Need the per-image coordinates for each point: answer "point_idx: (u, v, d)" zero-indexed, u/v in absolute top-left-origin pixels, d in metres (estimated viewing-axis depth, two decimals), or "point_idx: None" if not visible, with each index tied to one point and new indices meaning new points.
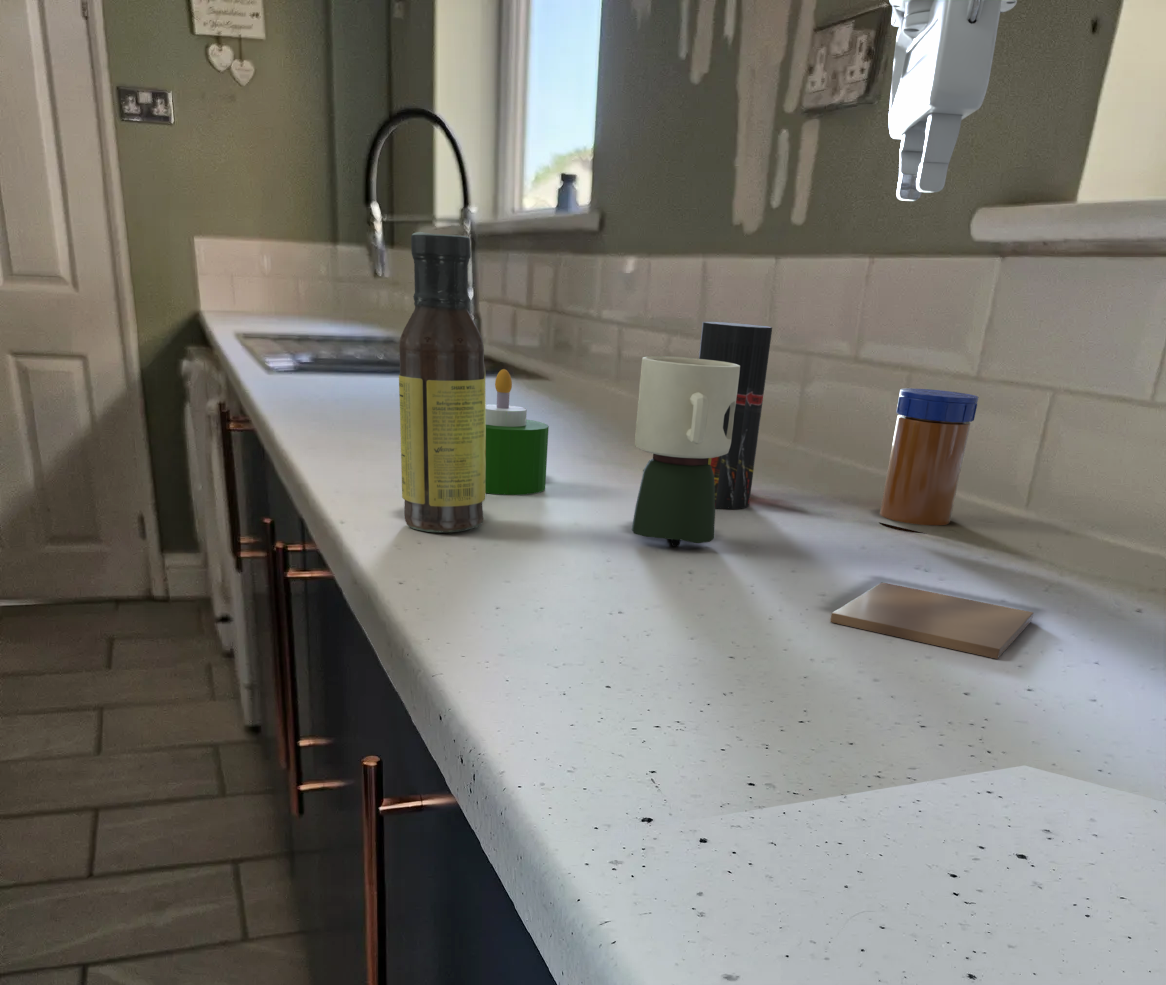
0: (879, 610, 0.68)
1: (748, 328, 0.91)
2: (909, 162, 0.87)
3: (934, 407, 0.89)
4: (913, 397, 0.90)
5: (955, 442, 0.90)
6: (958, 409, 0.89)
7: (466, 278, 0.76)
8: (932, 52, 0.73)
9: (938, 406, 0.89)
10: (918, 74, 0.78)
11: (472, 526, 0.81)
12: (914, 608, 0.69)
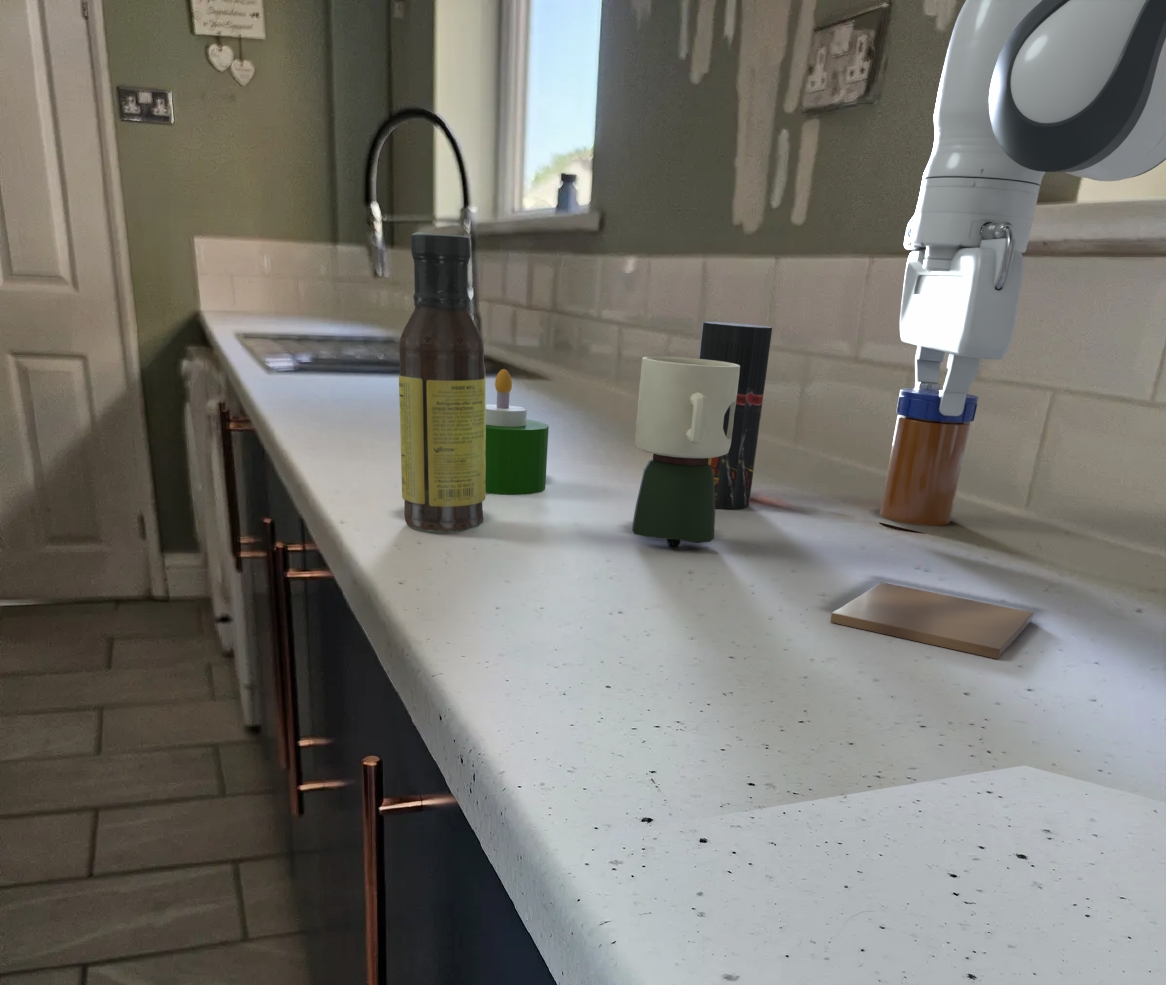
0: (879, 610, 0.68)
1: (748, 328, 0.91)
2: (925, 370, 0.95)
3: (934, 407, 0.89)
4: (913, 397, 0.90)
5: (955, 443, 0.90)
6: None
7: (466, 278, 0.76)
8: (959, 306, 0.82)
9: None
10: (940, 312, 0.87)
11: (472, 526, 0.81)
12: (914, 608, 0.69)
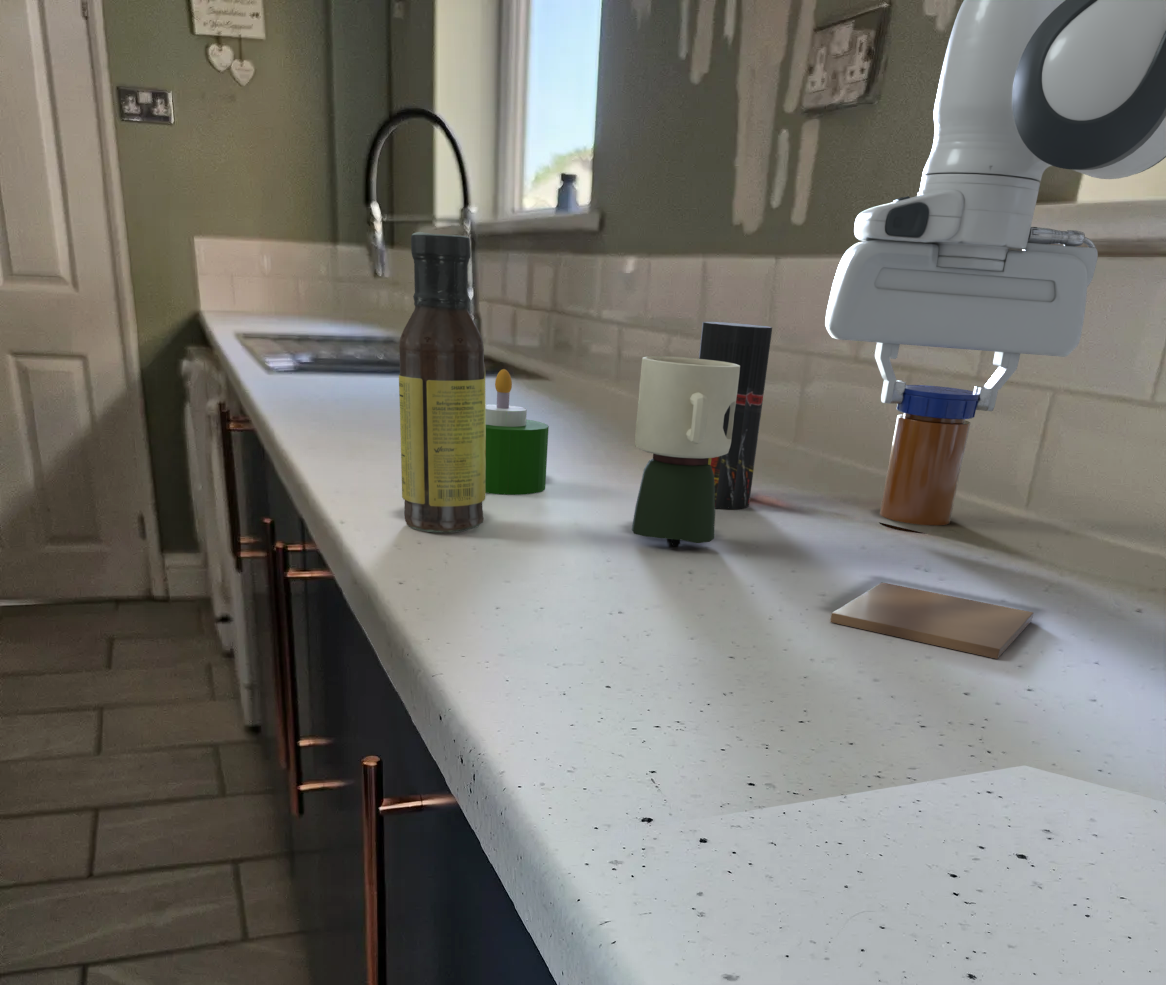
0: (879, 610, 0.68)
1: (748, 328, 0.91)
2: None
3: None
4: (969, 399, 0.89)
5: (955, 442, 0.90)
6: None
7: (466, 278, 0.76)
8: (1050, 309, 0.87)
9: None
10: (988, 312, 0.87)
11: (472, 526, 0.81)
12: (914, 608, 0.69)
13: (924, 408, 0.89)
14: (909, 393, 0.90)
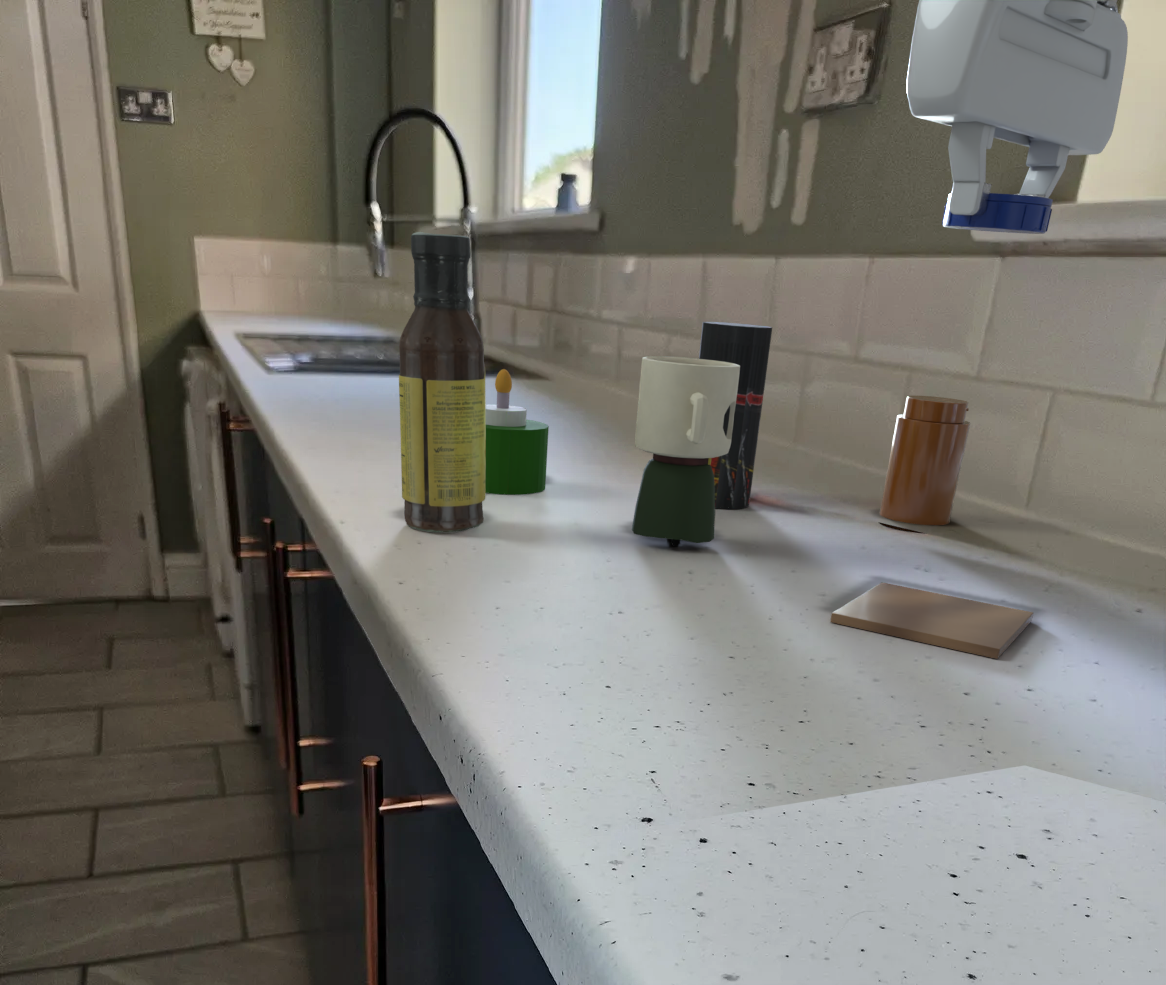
0: (879, 610, 0.68)
1: (748, 328, 0.91)
2: None
3: None
4: None
5: (955, 442, 0.90)
6: None
7: (466, 278, 0.76)
8: (1103, 89, 0.70)
9: None
10: (1068, 87, 0.67)
11: (472, 526, 0.81)
12: (914, 608, 0.69)
13: (1021, 218, 0.67)
14: (998, 199, 0.67)
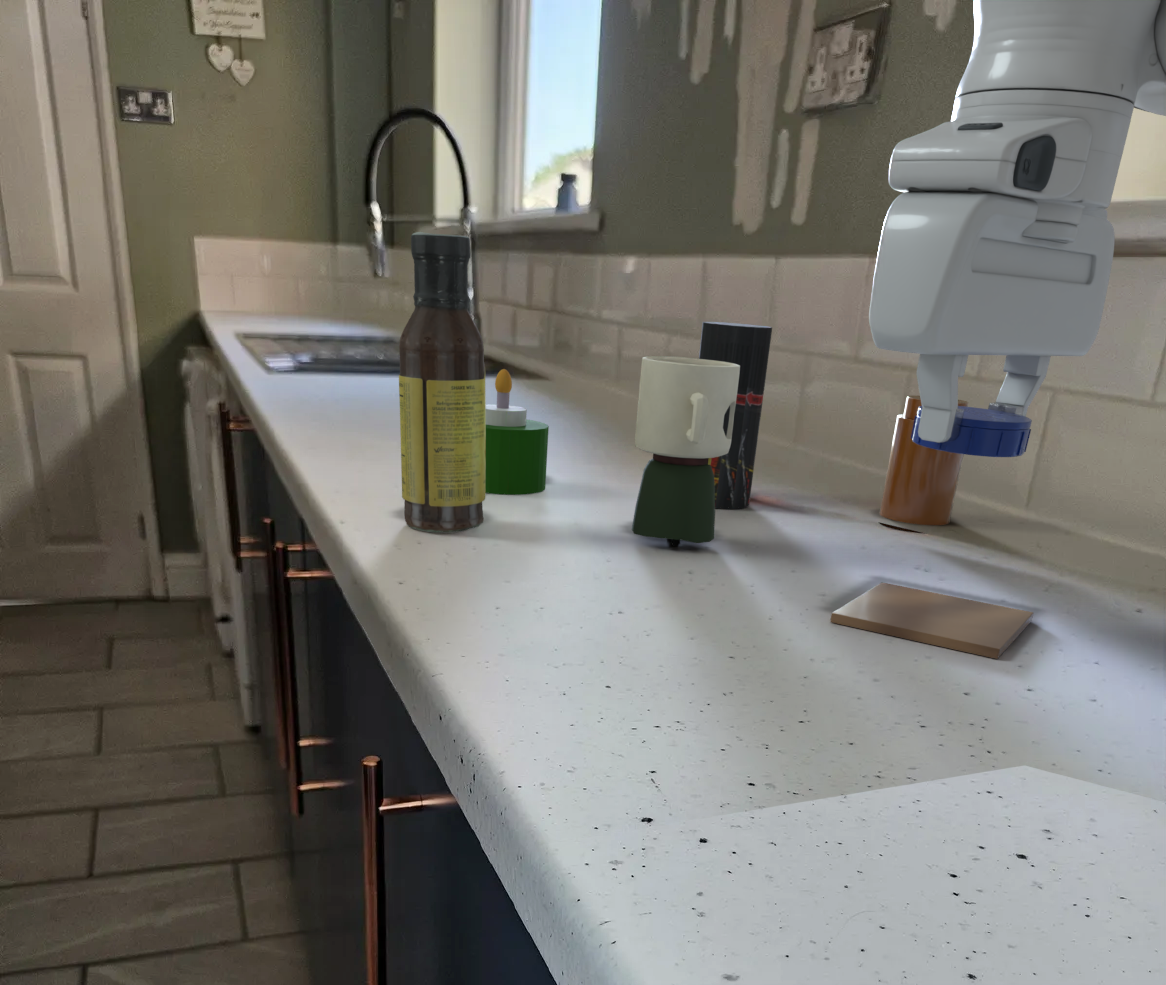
0: (879, 610, 0.68)
1: (748, 328, 0.91)
2: None
3: None
4: None
5: None
6: None
7: (466, 278, 0.76)
8: (1088, 294, 0.64)
9: None
10: (1049, 302, 0.61)
11: (472, 526, 0.81)
12: (914, 608, 0.69)
13: (997, 445, 0.61)
14: (971, 425, 0.61)
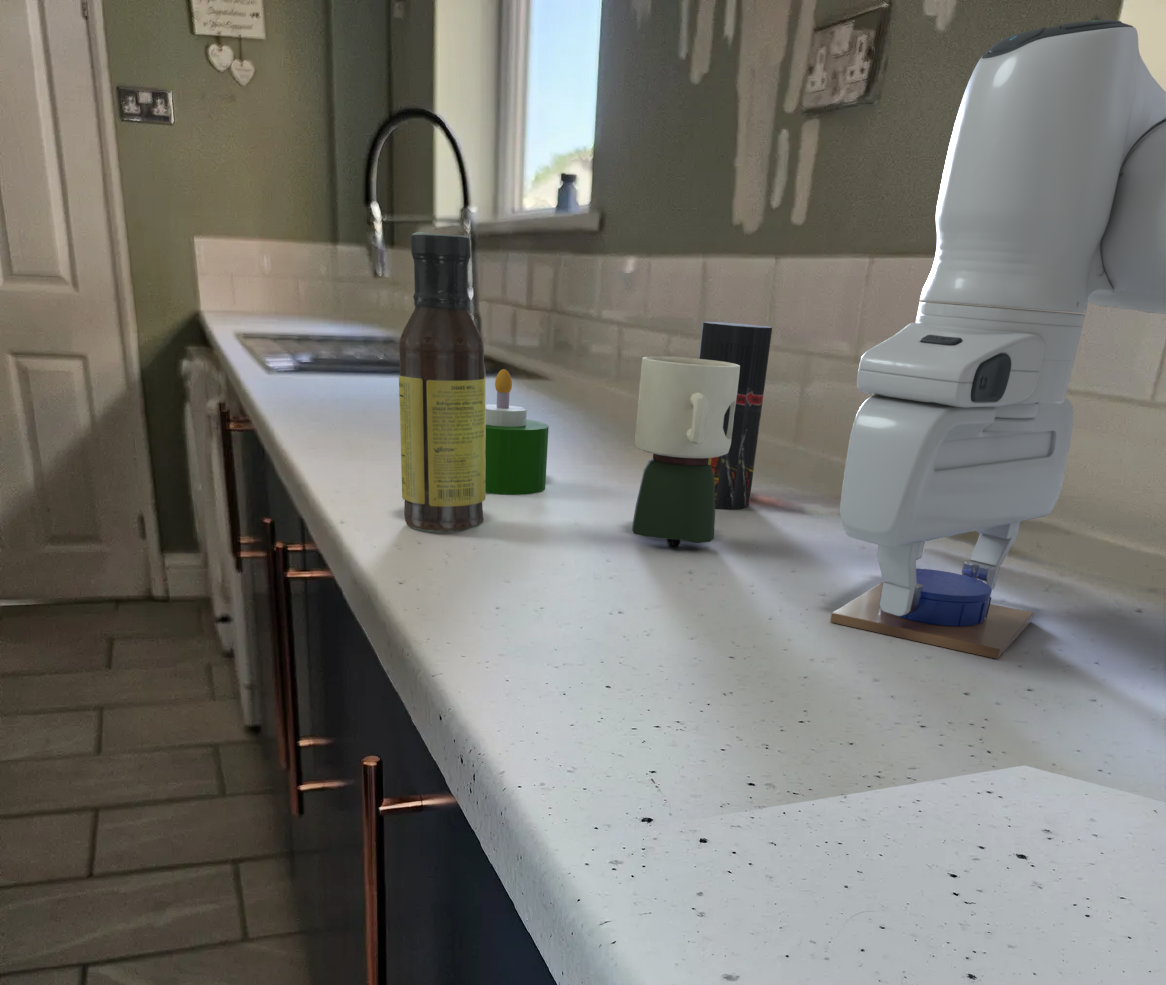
0: (879, 610, 0.68)
1: (748, 328, 0.91)
2: None
3: None
4: None
5: None
6: None
7: (466, 278, 0.76)
8: (1049, 465, 0.68)
9: None
10: (1010, 480, 0.65)
11: (472, 526, 0.81)
12: None
13: (959, 617, 0.65)
14: (934, 598, 0.65)
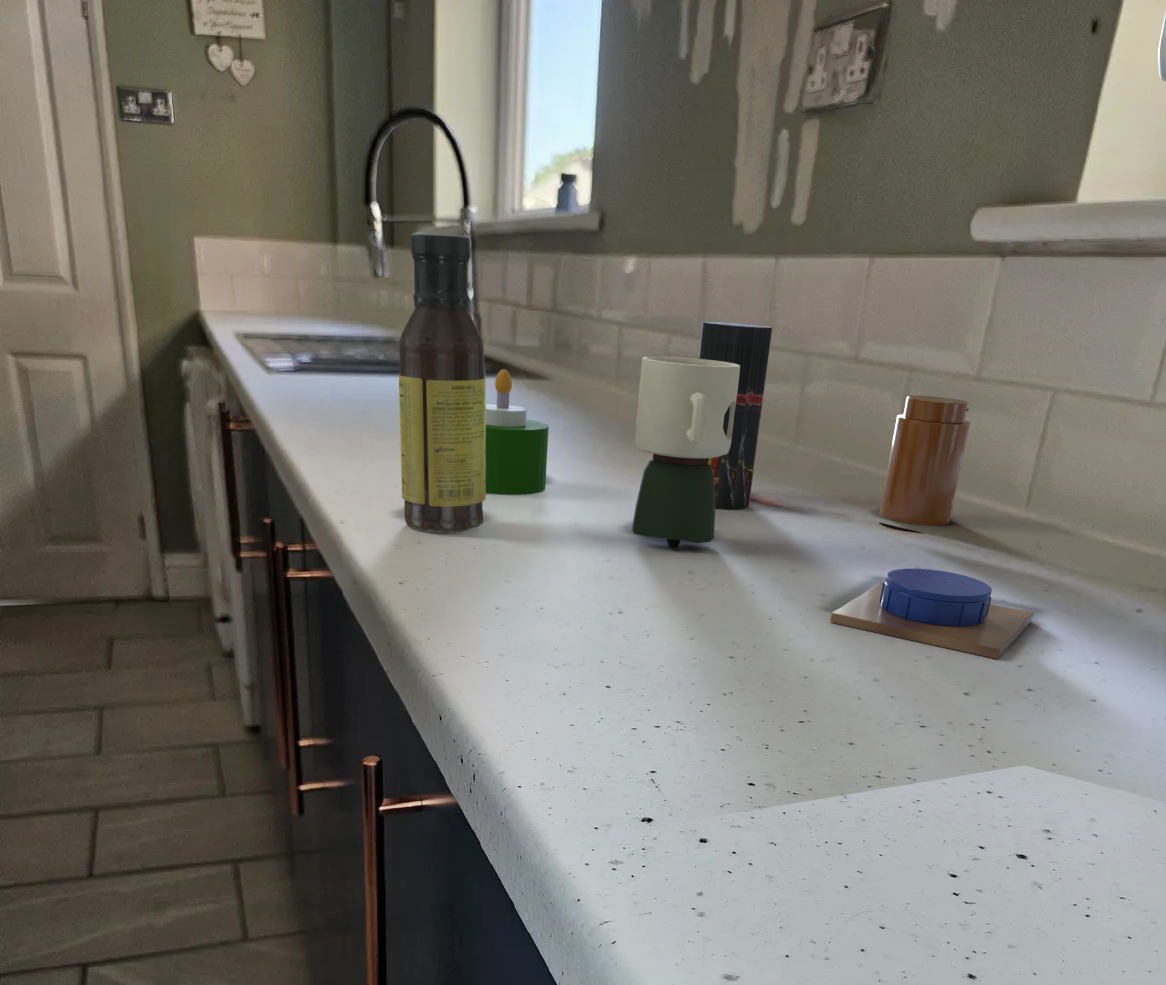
0: (879, 610, 0.68)
1: (748, 328, 0.91)
2: None
3: None
4: None
5: (955, 442, 0.90)
6: None
7: (466, 278, 0.76)
8: None
9: None
10: None
11: (472, 526, 0.81)
12: None
13: (959, 617, 0.65)
14: (934, 598, 0.65)
